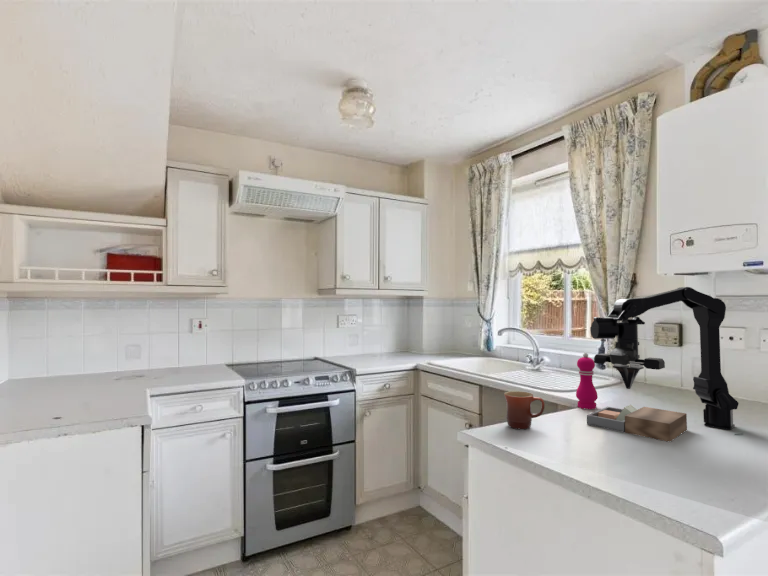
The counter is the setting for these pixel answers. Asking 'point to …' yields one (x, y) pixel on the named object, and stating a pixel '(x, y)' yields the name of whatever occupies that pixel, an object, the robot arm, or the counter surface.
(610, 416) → the tile terracotta
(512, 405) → the mug
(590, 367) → the pepper mill
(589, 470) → the counter surface
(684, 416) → the brown wooden block
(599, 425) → the box
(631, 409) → the tile sage
